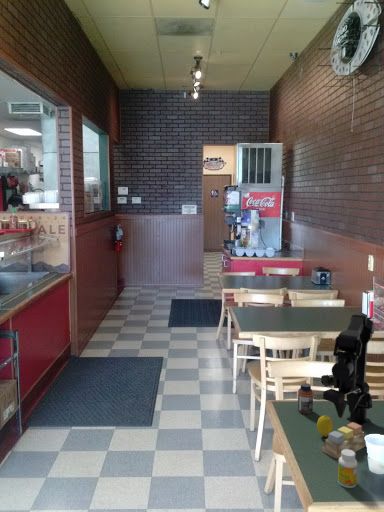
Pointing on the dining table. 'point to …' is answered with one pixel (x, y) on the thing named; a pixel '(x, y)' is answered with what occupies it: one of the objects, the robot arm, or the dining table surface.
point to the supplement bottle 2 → (347, 469)
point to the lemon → (324, 425)
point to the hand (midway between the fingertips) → (345, 415)
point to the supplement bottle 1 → (305, 399)
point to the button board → (344, 445)
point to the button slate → (336, 437)
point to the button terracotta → (355, 428)
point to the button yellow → (346, 432)
